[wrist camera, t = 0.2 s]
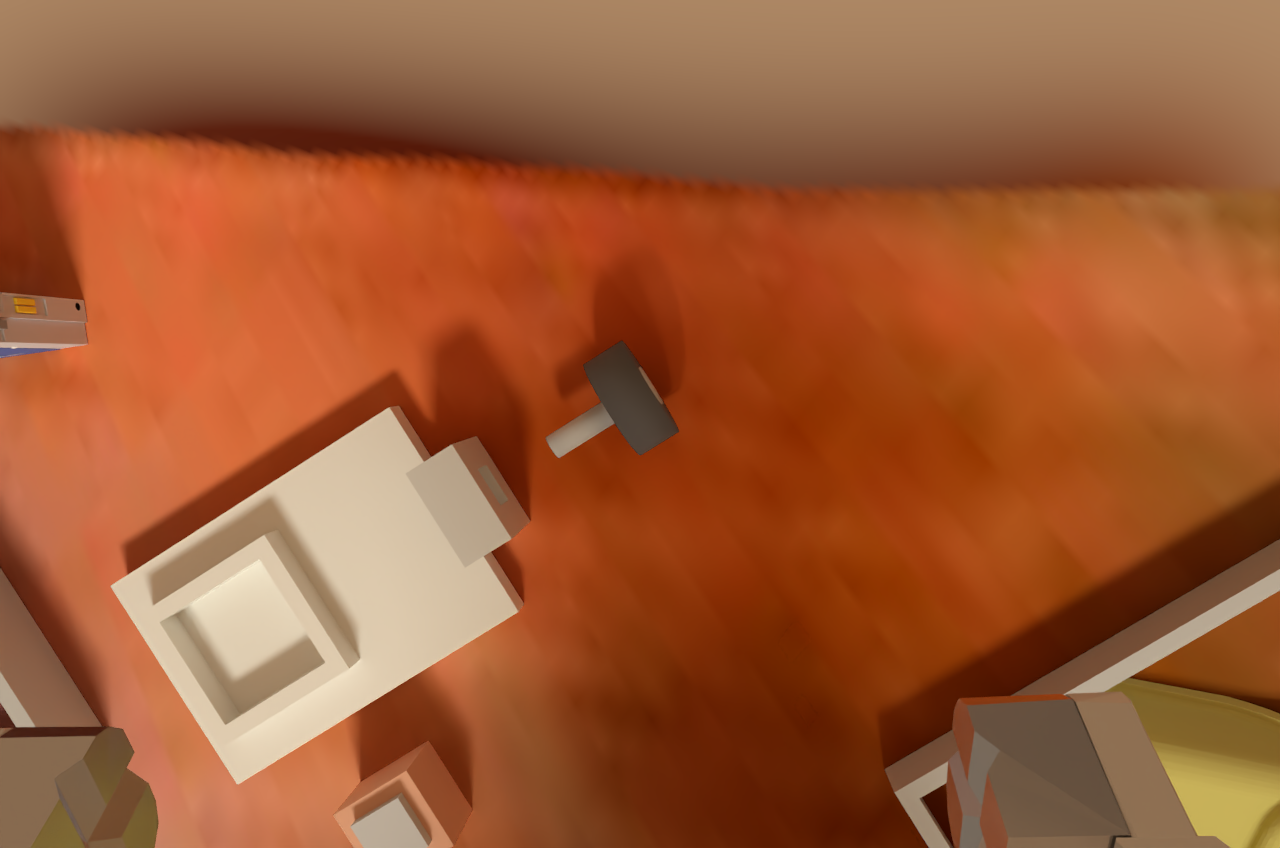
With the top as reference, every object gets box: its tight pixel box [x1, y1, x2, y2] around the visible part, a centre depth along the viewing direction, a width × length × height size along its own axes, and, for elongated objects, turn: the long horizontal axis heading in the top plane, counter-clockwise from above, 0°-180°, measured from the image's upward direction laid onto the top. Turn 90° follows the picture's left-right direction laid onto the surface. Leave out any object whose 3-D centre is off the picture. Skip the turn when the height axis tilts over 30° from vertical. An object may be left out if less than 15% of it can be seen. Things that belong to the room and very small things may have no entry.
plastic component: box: [1105, 678, 1280, 848], centre depth 62 cm, size 20×7×10 cm
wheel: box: [546, 341, 679, 458], centre depth 61 cm, size 6×7×6 cm
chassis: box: [111, 406, 530, 785], centre depth 63 cm, size 14×23×6 cm, turn 122°
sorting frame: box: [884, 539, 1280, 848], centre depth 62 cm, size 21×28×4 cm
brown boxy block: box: [333, 740, 472, 848], centre depth 64 cm, size 5×5×6 cm
